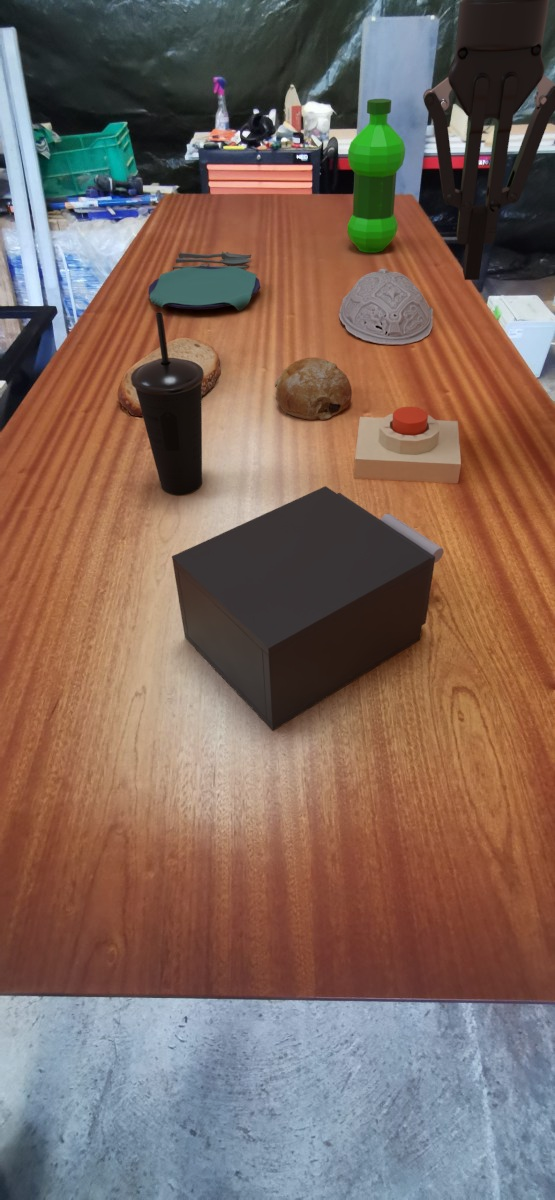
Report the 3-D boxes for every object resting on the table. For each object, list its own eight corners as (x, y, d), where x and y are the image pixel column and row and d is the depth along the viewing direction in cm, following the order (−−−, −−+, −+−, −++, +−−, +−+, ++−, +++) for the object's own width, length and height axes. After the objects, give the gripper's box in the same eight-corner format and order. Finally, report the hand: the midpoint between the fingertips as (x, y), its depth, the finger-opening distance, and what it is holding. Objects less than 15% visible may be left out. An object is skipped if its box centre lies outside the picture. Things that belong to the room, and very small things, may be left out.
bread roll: (297, 448, 99) (313, 408, 92) (255, 393, 101) (268, 350, 95) (353, 425, 103) (372, 385, 96) (312, 372, 106) (328, 330, 99)
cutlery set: (138, 318, 125) (136, 304, 123) (170, 260, 147) (169, 247, 146) (255, 318, 123) (254, 304, 122) (269, 259, 146) (269, 246, 144)
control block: (454, 440, 92) (459, 407, 89) (458, 484, 85) (463, 450, 82) (358, 435, 94) (360, 403, 91) (353, 478, 86) (355, 445, 83)
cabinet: (324, 565, 75) (325, 485, 68) (420, 640, 67) (432, 557, 60) (184, 637, 68) (171, 556, 61) (272, 731, 59) (268, 648, 53)
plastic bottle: (344, 241, 153) (349, 96, 136) (395, 240, 152) (406, 95, 136) (345, 257, 145) (350, 106, 129) (399, 256, 145) (411, 104, 128)
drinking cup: (227, 482, 87) (213, 312, 73) (176, 510, 83) (151, 335, 69) (186, 459, 91) (165, 293, 77) (136, 484, 87) (105, 314, 73)
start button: (426, 420, 88) (427, 407, 87) (426, 437, 85) (428, 423, 84) (392, 419, 88) (393, 405, 87) (391, 435, 85) (392, 422, 84)
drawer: (369, 540, 76) (374, 475, 71) (459, 603, 69) (471, 536, 63) (208, 623, 68) (199, 557, 62) (290, 705, 60) (289, 638, 55)
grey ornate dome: (341, 341, 114) (347, 296, 109) (335, 292, 133) (340, 252, 129) (441, 350, 114) (450, 306, 110) (420, 299, 133) (428, 260, 129)
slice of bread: (202, 346, 116) (199, 322, 113) (253, 391, 104) (252, 365, 101) (91, 372, 110) (86, 348, 107) (133, 423, 98) (128, 397, 95)
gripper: (575, -16, 65) (528, 263, 81) (426, -8, 67) (408, 265, 83) (593, -12, 60) (538, 287, 76) (430, -3, 61) (410, 288, 77)
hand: (470, 275), depth 79 cm, fingers closed
